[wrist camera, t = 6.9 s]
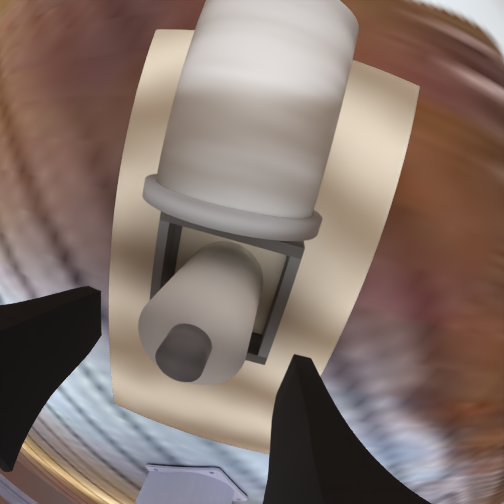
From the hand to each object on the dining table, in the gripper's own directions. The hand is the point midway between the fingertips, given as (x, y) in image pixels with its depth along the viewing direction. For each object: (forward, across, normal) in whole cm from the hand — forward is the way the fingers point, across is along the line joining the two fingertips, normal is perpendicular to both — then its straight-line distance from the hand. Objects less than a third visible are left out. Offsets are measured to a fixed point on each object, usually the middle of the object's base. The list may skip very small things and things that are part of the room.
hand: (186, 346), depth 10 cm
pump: (+6, 0, 0) cm, 6 cm away
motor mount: (+7, 0, +2) cm, 7 cm away
